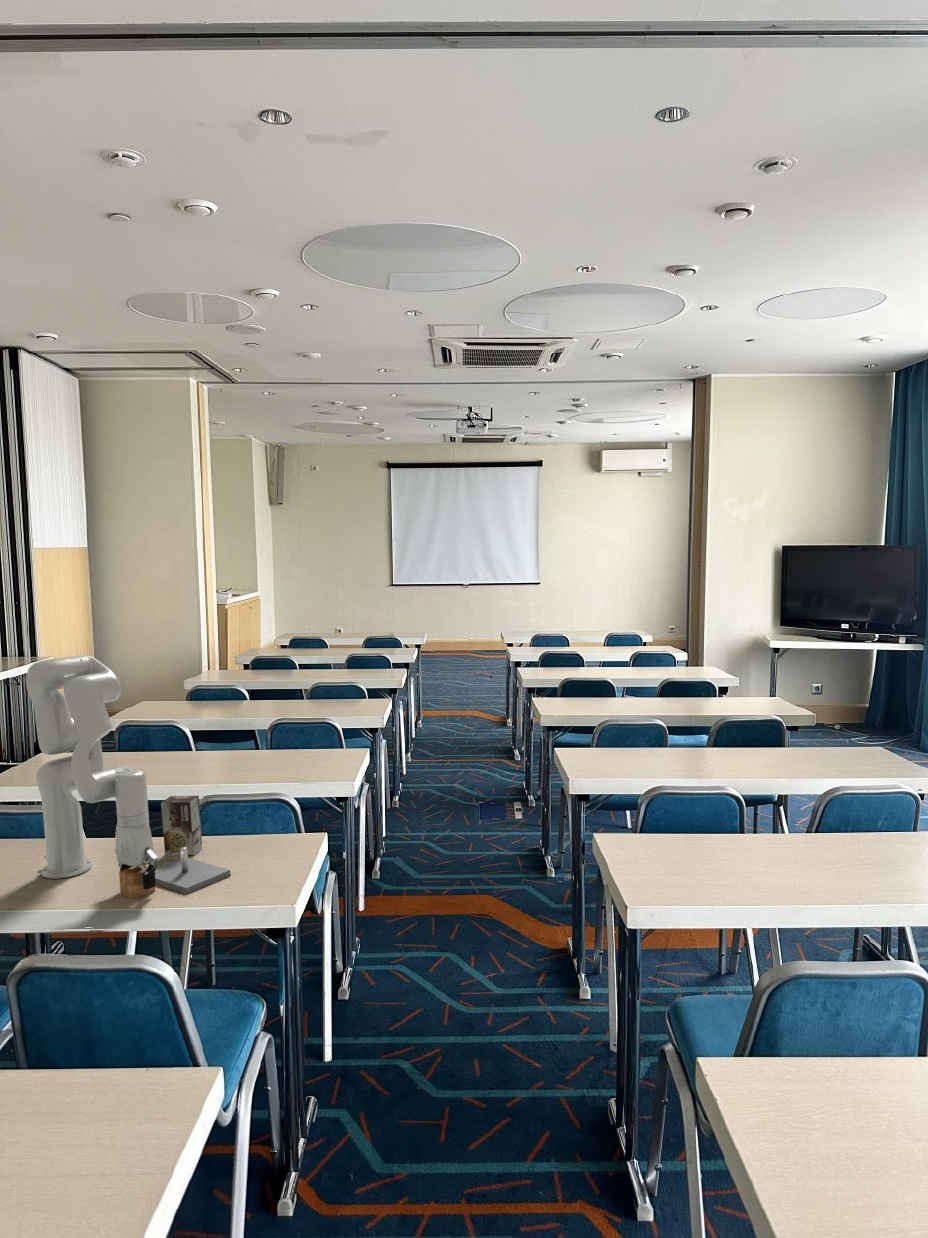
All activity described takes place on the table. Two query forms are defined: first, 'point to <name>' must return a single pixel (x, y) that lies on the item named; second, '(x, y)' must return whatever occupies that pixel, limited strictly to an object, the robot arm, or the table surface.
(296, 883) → the table surface
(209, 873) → the grey rectangular slab
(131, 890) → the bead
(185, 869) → the rod
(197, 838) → the coffee box
